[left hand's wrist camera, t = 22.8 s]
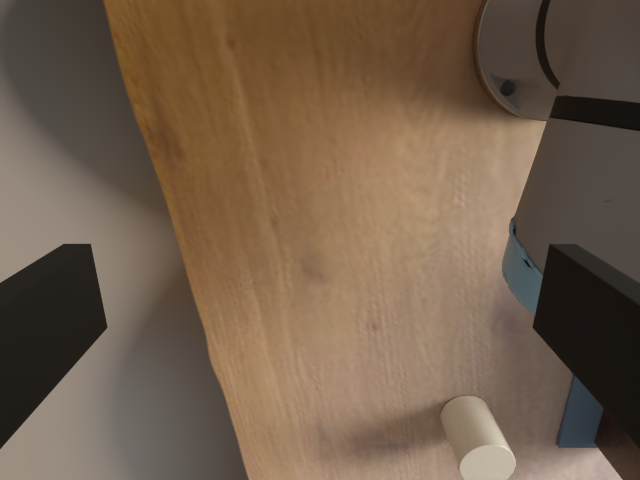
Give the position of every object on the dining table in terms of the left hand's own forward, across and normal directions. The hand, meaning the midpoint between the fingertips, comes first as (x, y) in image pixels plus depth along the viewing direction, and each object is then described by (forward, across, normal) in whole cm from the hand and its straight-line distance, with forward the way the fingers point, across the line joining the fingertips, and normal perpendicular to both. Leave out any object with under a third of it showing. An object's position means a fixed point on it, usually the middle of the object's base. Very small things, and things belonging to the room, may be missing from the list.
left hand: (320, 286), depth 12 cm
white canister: (+33, +19, -35) cm, 52 cm away
